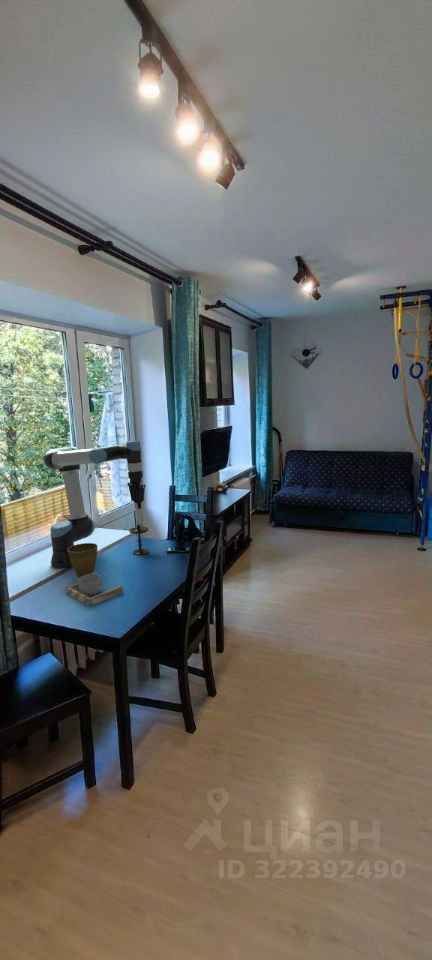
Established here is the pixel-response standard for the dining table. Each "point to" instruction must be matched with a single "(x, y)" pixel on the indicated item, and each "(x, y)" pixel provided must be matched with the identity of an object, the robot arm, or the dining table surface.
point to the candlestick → (138, 531)
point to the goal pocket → (95, 599)
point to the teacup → (90, 584)
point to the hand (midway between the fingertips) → (138, 514)
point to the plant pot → (83, 558)
